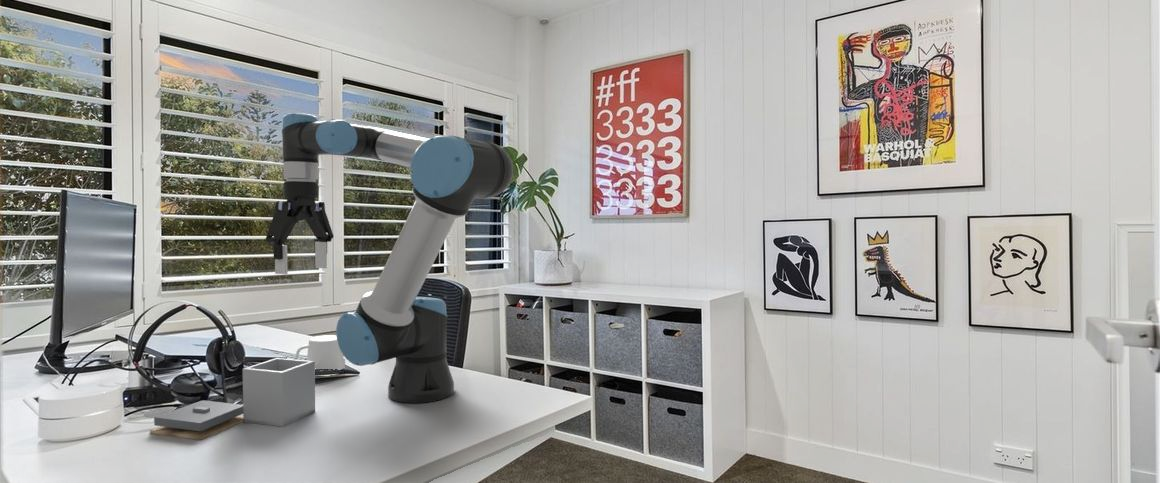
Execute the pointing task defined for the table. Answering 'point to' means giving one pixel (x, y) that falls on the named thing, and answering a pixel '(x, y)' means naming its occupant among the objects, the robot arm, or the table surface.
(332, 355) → the mug
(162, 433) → the wooden square board
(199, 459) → the table surface
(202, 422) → the lid
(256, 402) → the storage cube
